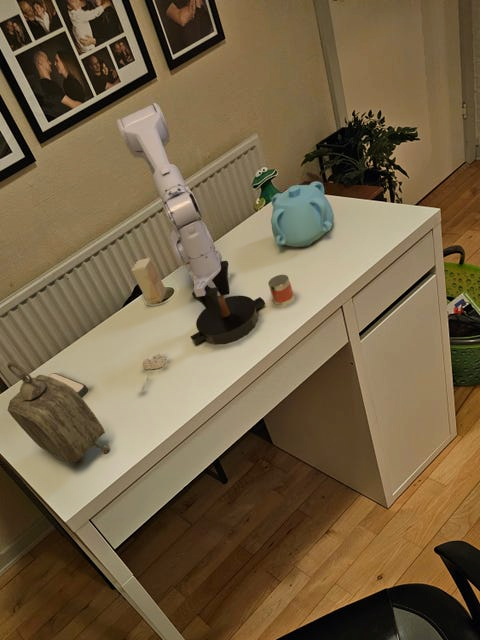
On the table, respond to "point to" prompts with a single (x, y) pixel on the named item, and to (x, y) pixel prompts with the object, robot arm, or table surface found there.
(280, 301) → the can
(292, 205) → the decorative pot
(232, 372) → the table surface
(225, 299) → the pan lid
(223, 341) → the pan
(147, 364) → the game controller
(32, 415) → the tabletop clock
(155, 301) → the box
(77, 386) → the phone case
